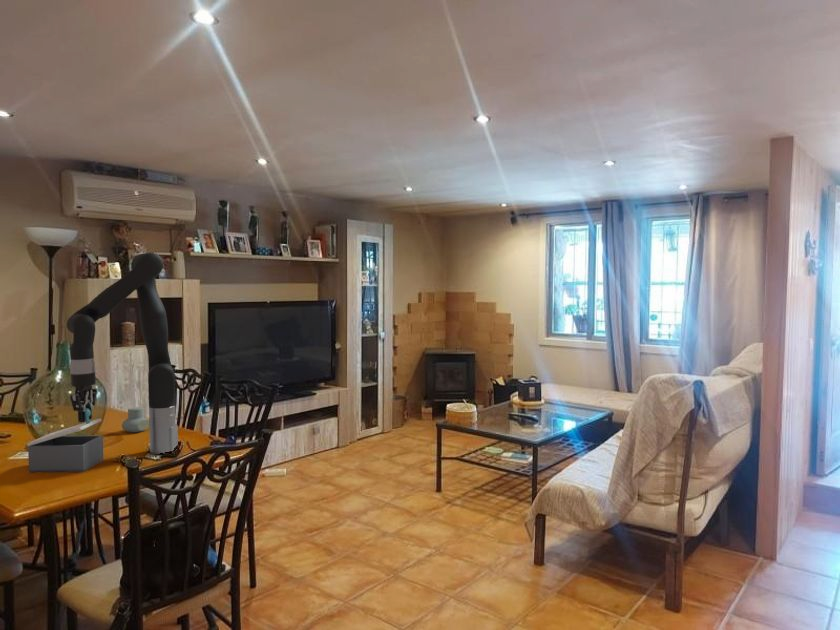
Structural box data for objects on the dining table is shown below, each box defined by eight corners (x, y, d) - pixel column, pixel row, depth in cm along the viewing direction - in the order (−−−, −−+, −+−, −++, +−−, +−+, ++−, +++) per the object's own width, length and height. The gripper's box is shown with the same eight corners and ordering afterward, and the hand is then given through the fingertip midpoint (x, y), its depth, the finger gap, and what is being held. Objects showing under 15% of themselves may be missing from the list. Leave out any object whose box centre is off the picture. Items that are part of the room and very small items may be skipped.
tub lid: (104, 419, 216) (98, 402, 215) (83, 429, 201) (77, 411, 201) (52, 435, 215) (46, 418, 215) (27, 446, 201) (21, 427, 200)
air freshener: (136, 427, 266) (136, 405, 266) (152, 428, 264) (152, 406, 264) (118, 433, 256) (118, 410, 255) (135, 434, 254) (134, 411, 253)
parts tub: (103, 459, 216) (102, 435, 216) (83, 471, 202) (82, 445, 202) (52, 460, 215) (51, 436, 215) (28, 472, 201) (28, 446, 201)
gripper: (83, 374, 201) (85, 425, 202) (103, 368, 215) (105, 415, 216) (60, 375, 200) (63, 425, 201) (82, 369, 214) (84, 416, 215)
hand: (85, 420), depth 208 cm, fingers closed on tub lid, 3 cm apart
